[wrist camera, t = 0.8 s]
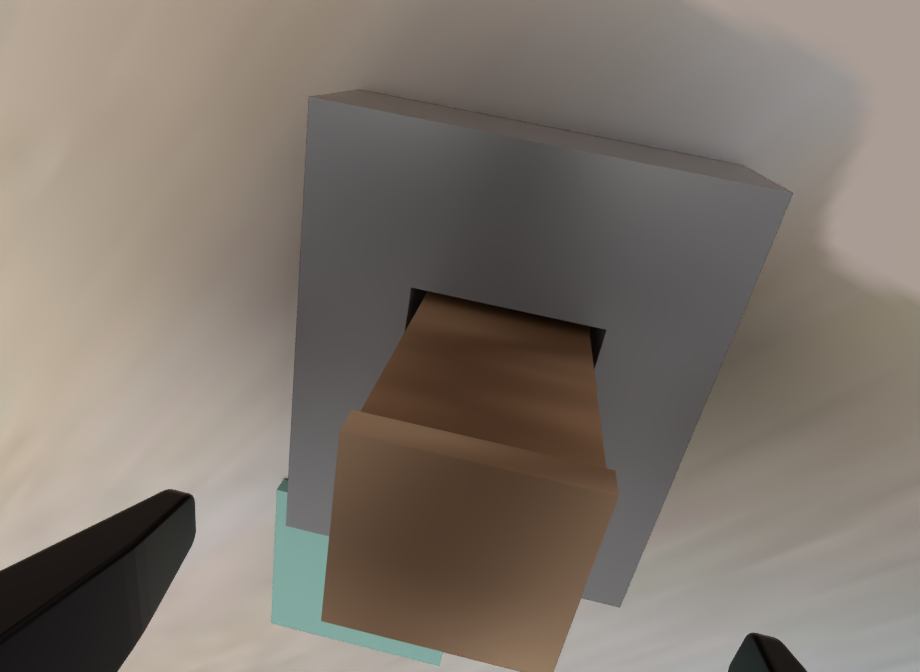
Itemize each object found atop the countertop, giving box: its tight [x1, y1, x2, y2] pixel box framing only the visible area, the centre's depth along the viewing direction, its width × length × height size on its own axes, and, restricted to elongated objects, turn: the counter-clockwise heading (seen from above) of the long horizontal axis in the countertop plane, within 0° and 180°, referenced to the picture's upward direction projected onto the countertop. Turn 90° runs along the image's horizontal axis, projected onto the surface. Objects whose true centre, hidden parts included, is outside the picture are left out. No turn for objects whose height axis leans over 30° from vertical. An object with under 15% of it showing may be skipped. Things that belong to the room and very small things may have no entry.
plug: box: [321, 291, 619, 672], centre depth 13 cm, size 4×4×9 cm
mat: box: [271, 479, 443, 666], centre depth 22 cm, size 7×7×1 cm
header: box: [286, 90, 793, 607], centre depth 16 cm, size 10×12×4 cm
